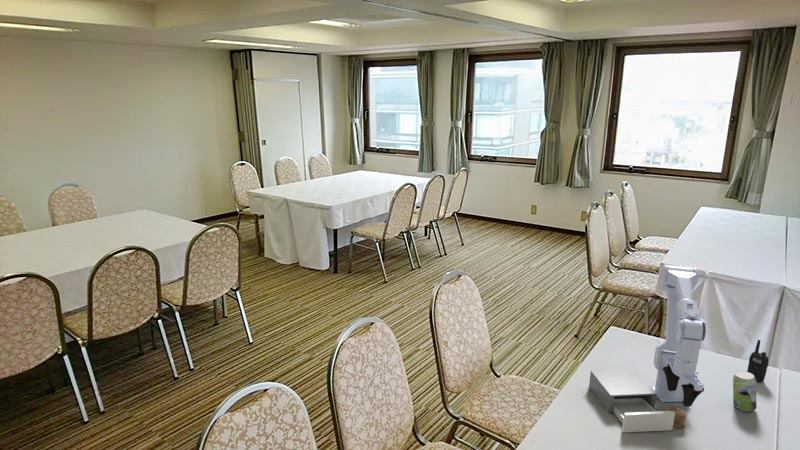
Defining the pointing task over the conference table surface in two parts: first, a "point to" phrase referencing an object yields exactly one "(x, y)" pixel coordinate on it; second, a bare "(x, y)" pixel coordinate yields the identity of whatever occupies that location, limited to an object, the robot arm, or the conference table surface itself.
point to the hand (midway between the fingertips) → (679, 397)
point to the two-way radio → (758, 364)
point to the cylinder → (678, 417)
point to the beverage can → (744, 391)
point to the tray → (641, 415)
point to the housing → (619, 386)
